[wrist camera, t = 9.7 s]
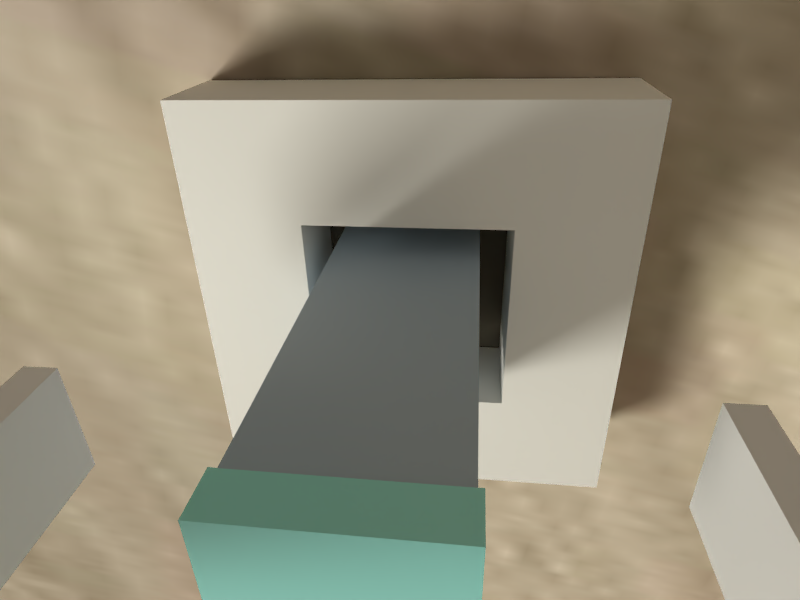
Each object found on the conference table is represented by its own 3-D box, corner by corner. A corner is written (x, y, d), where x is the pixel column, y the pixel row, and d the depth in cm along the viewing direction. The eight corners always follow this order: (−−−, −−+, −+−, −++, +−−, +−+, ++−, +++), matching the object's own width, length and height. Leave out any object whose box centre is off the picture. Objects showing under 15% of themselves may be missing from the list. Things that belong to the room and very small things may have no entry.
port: (209, 80, 17) (160, 100, 14) (640, 77, 16) (672, 99, 13) (265, 405, 23) (237, 461, 20) (582, 424, 21) (596, 487, 19)
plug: (348, 210, 18) (178, 521, 8) (483, 213, 18) (484, 547, 8) (356, 324, 21) (228, 688, 10) (477, 329, 20) (473, 717, 10)
